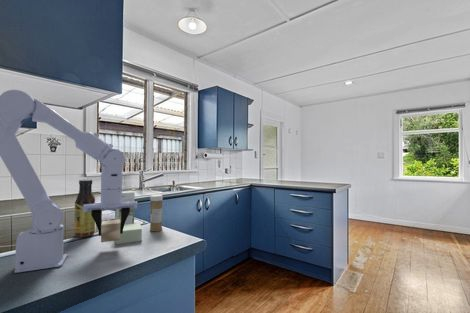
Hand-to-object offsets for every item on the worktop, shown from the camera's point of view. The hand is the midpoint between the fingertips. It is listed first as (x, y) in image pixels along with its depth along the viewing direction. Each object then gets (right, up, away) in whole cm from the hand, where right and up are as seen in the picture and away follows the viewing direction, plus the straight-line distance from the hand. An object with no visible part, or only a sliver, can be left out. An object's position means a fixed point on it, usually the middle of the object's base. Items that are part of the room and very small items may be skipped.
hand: (111, 233), depth 75 cm
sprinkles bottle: (+7, -5, +21) cm, 23 cm away
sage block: (+1, -5, +10) cm, 11 cm away
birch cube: (0, -1, 0) cm, 1 cm away
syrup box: (-6, -5, +24) cm, 25 cm away
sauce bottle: (-16, -5, +14) cm, 22 cm away
